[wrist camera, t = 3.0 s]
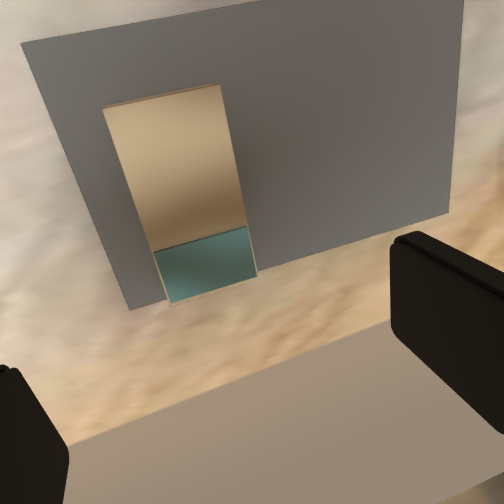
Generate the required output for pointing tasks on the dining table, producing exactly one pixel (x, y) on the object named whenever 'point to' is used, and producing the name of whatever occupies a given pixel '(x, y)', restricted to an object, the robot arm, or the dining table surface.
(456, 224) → the dining table surface
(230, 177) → the birch tile
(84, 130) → the rubber mat
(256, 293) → the dining table surface
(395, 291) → the robot arm
